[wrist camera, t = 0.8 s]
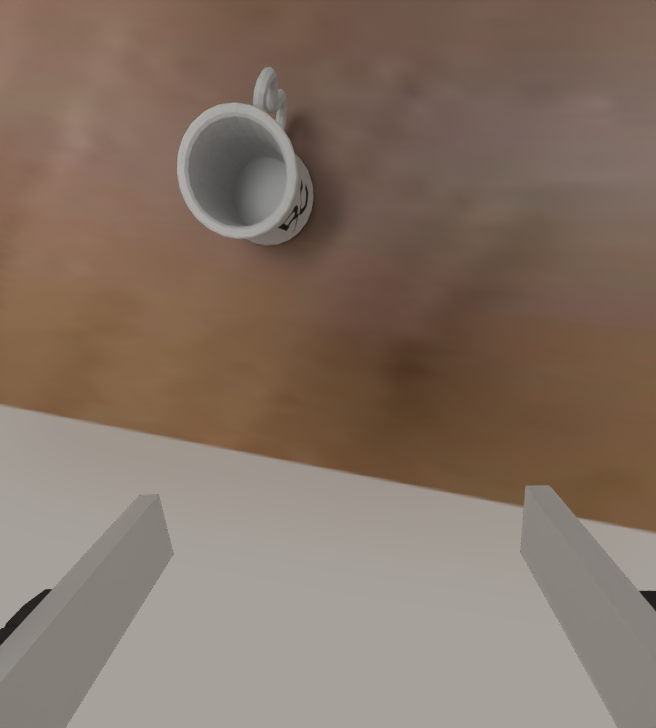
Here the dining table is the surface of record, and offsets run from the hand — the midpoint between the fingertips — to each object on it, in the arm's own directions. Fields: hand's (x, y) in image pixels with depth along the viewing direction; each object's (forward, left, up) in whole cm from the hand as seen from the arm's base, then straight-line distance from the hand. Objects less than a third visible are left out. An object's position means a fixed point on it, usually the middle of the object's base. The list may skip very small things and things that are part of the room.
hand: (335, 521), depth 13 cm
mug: (-17, -7, -27) cm, 33 cm away
